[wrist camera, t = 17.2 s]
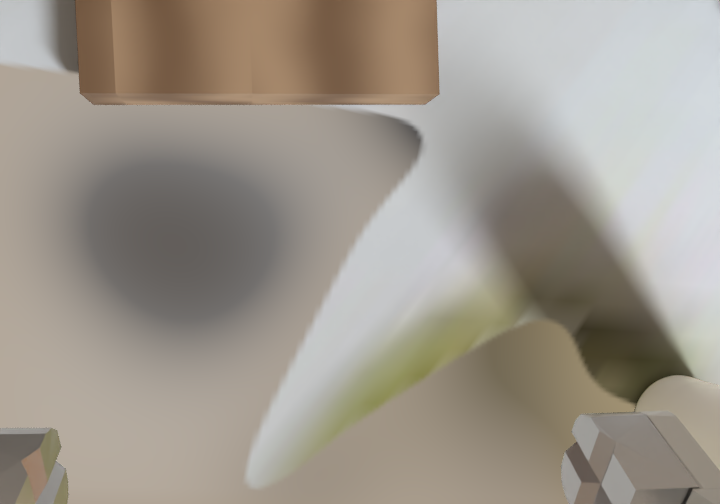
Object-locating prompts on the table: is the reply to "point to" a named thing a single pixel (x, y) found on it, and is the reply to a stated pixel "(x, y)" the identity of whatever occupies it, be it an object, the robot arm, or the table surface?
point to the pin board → (257, 52)
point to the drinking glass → (688, 408)
